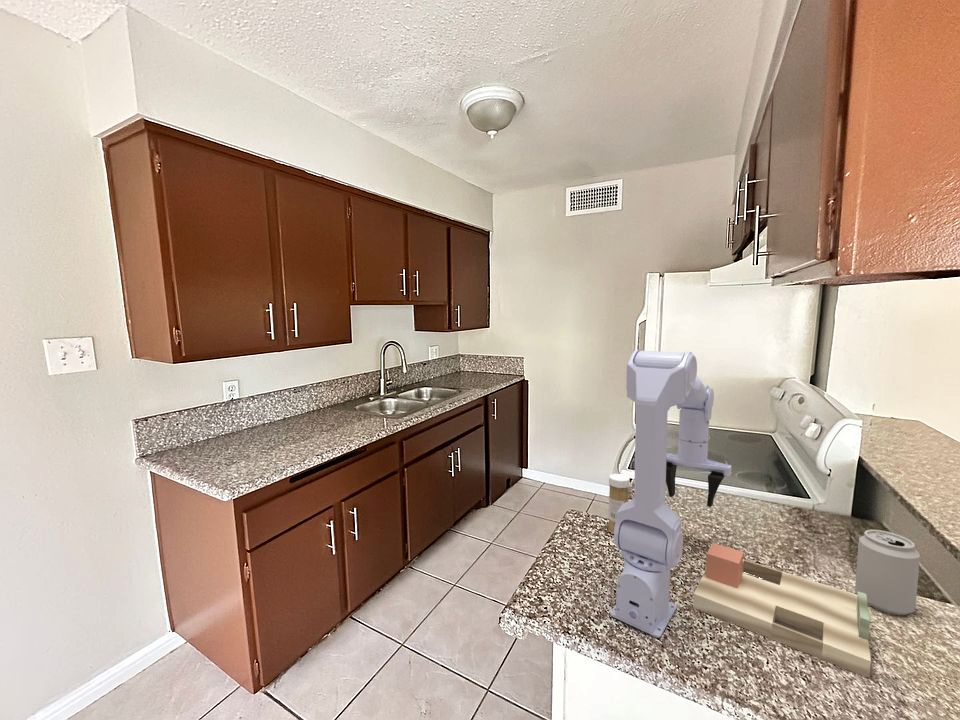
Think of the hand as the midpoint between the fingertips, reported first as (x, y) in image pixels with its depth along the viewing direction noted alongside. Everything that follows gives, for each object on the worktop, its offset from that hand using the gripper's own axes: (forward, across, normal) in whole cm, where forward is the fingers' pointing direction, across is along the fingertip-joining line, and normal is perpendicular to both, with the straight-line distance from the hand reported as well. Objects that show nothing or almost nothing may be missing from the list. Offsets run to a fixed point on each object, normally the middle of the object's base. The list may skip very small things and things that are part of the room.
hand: (690, 500), depth 90 cm
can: (+10, -31, -1) cm, 33 cm away
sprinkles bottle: (+10, +14, +5) cm, 18 cm away
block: (+8, -9, +13) cm, 18 cm away
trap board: (+10, -17, +13) cm, 24 cm away
